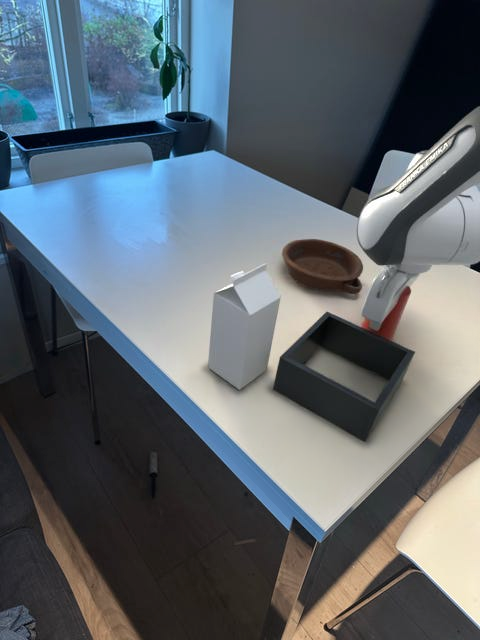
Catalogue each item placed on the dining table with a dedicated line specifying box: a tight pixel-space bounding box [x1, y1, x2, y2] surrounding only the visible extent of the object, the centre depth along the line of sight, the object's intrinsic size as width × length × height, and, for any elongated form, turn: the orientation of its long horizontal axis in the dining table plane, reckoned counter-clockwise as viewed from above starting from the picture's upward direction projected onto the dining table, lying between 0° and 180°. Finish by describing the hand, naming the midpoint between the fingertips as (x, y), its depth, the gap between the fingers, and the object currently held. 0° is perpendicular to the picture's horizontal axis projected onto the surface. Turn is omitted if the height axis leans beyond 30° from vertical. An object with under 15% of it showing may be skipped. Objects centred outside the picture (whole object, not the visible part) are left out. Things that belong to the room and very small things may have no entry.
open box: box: [272, 311, 416, 443], centre depth 72 cm, size 16×16×7 cm
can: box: [360, 286, 412, 341], centre depth 81 cm, size 6×6×12 cm
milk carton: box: [207, 262, 282, 391], centre depth 69 cm, size 7×7×19 cm
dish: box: [281, 238, 364, 295], centre depth 100 cm, size 18×22×5 cm
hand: (382, 318), depth 82 cm, fingers closed on can, 6 cm apart
